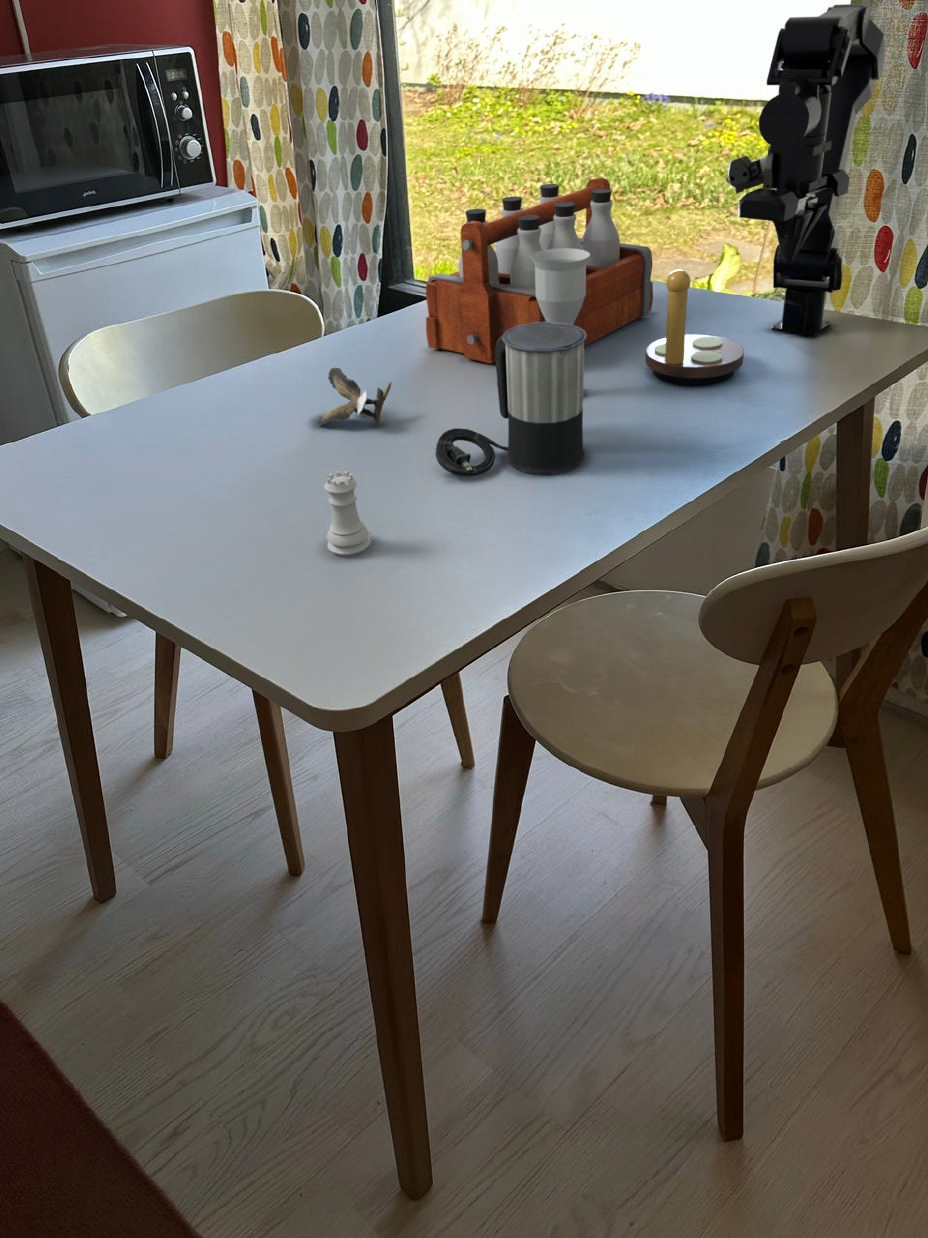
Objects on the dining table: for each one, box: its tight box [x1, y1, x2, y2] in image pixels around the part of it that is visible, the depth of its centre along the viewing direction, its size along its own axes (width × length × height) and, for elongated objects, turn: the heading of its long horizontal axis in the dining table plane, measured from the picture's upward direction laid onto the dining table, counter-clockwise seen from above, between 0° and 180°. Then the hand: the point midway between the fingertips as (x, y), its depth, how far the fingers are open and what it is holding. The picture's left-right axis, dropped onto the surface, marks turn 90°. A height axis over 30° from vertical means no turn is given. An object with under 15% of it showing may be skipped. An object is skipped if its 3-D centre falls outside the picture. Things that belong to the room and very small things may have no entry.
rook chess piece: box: [324, 470, 372, 558], centre depth 104 cm, size 4×4×8 cm
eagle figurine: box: [316, 367, 392, 427], centre depth 132 cm, size 8×7×9 cm
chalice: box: [531, 248, 590, 325], centre depth 132 cm, size 7×7×18 cm
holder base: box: [651, 369, 735, 387], centre depth 141 cm, size 11×11×1 cm
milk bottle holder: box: [425, 177, 654, 364], centre depth 153 cm, size 21×35×19 cm, turn 141°
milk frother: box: [435, 322, 587, 477], centre depth 116 cm, size 14×16×15 cm
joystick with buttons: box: [644, 269, 745, 378], centre depth 137 cm, size 13×13×13 cm
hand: (787, 262), depth 136 cm, fingers closed
